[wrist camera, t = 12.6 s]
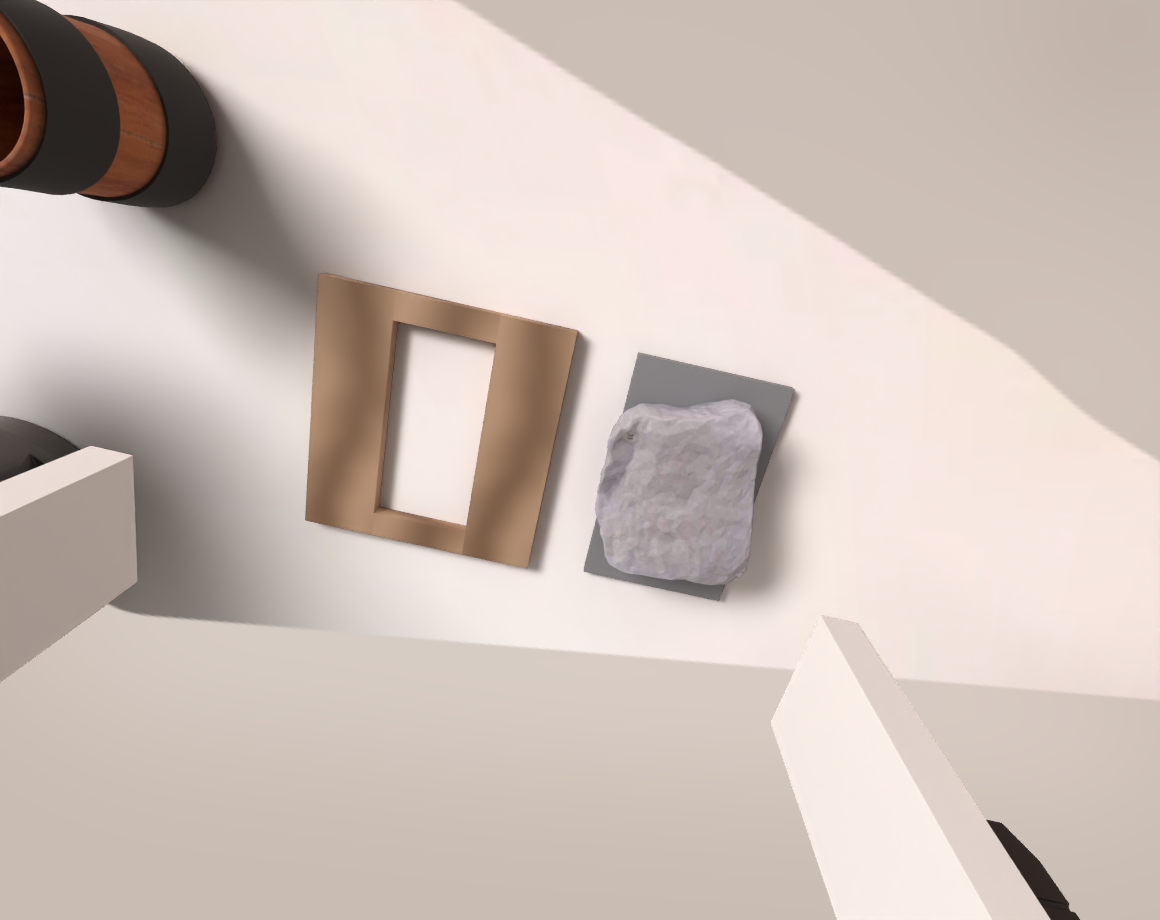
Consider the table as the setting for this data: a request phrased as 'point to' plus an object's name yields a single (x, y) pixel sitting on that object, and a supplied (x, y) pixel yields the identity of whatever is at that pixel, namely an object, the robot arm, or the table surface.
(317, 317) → the pocket board
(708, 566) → the stone block
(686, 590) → the mat
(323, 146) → the table surface
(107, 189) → the mug
